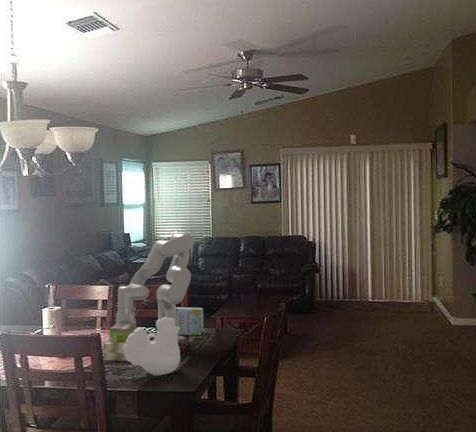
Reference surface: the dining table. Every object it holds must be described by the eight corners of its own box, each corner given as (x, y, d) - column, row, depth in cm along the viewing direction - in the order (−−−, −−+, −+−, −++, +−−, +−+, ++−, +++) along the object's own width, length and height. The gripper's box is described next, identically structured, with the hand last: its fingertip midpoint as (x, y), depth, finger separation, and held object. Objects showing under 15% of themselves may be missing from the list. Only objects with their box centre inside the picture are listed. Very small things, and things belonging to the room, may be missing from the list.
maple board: (129, 358, 281) (129, 342, 281) (128, 360, 278) (127, 343, 278) (105, 358, 282) (104, 342, 281) (103, 360, 279) (103, 343, 278)
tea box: (129, 358, 281) (128, 328, 281) (108, 358, 282) (108, 328, 282) (136, 350, 296) (136, 322, 296) (117, 350, 297) (117, 321, 297)
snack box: (203, 333, 335) (203, 307, 334) (200, 335, 329) (200, 309, 329) (169, 332, 339) (168, 306, 339) (165, 334, 334) (165, 308, 334)
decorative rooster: (179, 366, 266) (179, 313, 266) (181, 377, 251) (181, 319, 250) (124, 369, 262) (123, 315, 262) (123, 380, 247) (122, 322, 246)
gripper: (141, 309, 301) (141, 344, 302) (113, 309, 302) (113, 344, 302) (138, 311, 294) (138, 347, 294) (109, 311, 295) (109, 347, 295)
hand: (125, 345), depth 298 cm, fingers closed
